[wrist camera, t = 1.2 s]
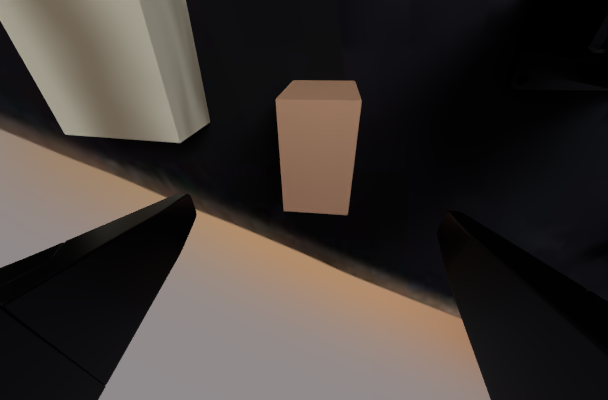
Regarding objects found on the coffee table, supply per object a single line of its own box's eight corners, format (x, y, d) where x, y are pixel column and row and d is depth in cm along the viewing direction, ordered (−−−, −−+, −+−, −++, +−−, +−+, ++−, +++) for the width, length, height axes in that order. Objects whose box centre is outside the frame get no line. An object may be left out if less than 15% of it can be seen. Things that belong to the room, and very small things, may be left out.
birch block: (184, -15, 12) (130, -32, 9) (211, 121, 16) (180, 143, 13) (62, -17, 13) (-30, -33, 10) (117, 114, 17) (65, 134, 14)
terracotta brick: (354, 80, 14) (361, 100, 10) (345, 172, 17) (347, 215, 13) (293, 80, 14) (275, 99, 10) (296, 169, 18) (283, 211, 14)
